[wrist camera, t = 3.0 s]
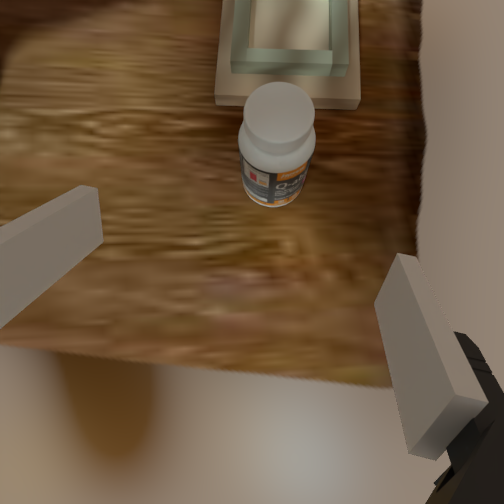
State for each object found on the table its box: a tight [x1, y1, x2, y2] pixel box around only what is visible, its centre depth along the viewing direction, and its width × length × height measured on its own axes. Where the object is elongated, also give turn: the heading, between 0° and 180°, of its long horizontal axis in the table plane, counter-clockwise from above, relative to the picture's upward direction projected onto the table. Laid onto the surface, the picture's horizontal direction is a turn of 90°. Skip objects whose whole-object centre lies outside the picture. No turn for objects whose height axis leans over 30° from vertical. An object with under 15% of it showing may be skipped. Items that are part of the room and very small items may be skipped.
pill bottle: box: [238, 82, 316, 207], centre depth 26 cm, size 6×6×10 cm
